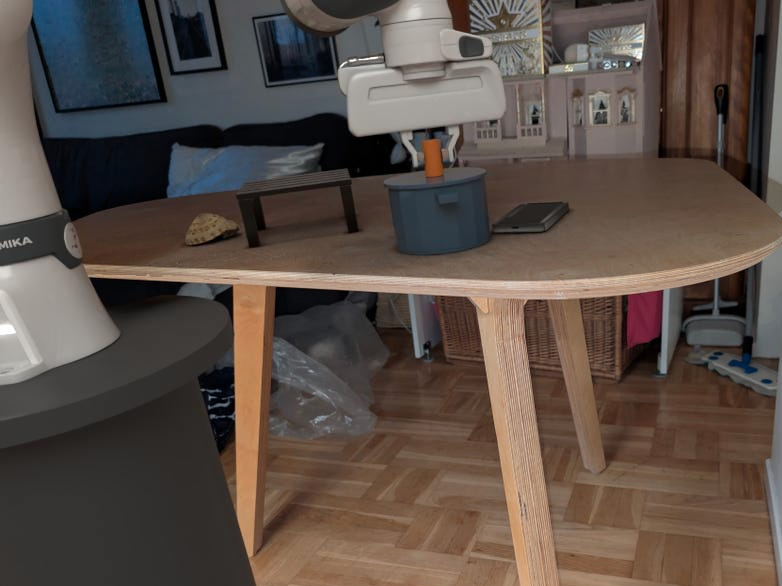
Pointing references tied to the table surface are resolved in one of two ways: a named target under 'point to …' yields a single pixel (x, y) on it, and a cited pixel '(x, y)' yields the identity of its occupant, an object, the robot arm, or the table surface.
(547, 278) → the table surface
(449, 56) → the robot arm
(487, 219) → the pot
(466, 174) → the lid
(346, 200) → the rack
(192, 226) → the seashell
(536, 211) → the phone
